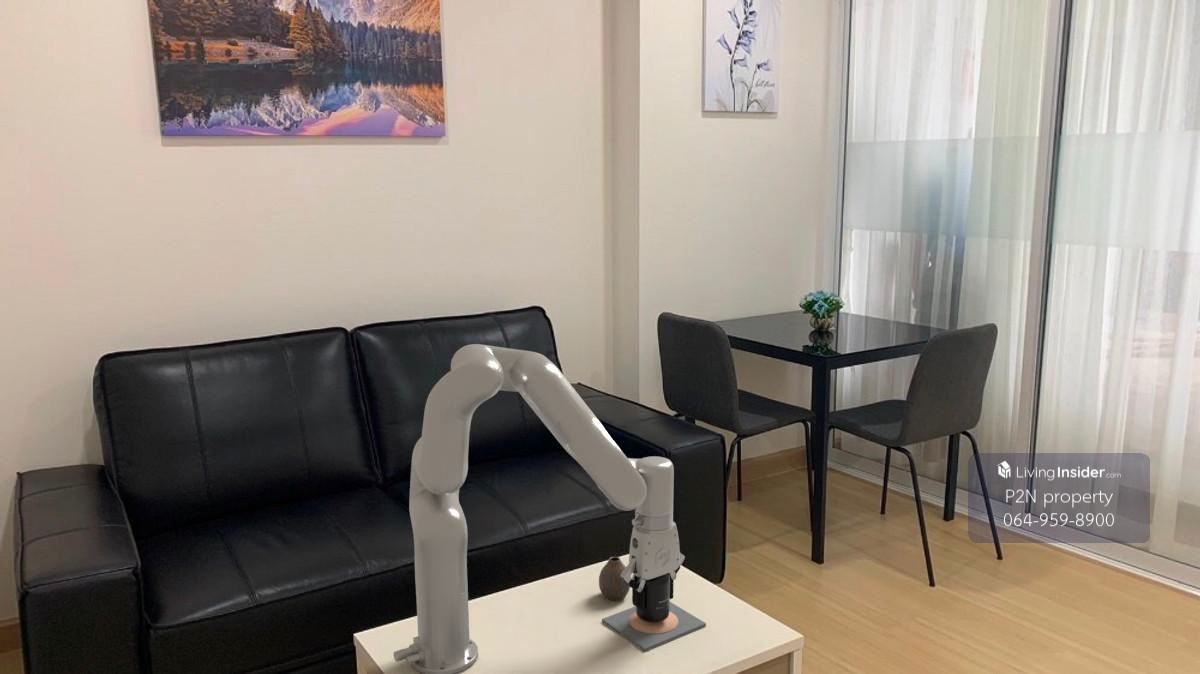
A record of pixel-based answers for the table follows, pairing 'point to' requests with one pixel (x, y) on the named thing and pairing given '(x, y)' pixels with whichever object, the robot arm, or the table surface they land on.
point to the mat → (653, 627)
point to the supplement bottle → (656, 599)
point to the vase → (613, 580)
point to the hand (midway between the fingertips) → (652, 601)
